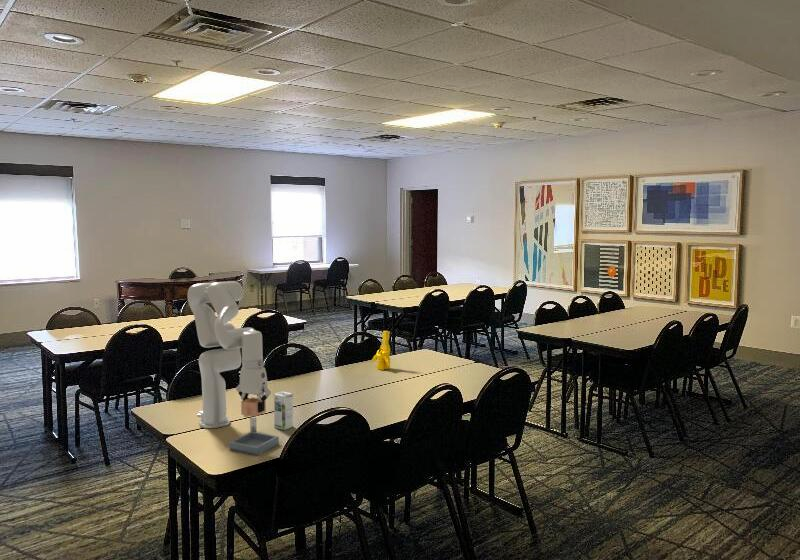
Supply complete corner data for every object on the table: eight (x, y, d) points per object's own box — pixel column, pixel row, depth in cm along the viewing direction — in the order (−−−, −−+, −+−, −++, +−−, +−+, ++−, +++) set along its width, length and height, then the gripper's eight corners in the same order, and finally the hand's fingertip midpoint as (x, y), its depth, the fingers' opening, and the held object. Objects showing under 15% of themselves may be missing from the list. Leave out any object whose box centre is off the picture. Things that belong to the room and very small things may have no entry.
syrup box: (273, 427, 253) (273, 393, 252) (284, 423, 258) (283, 390, 257) (283, 430, 250) (283, 396, 249) (293, 426, 255) (293, 392, 254)
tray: (229, 450, 229) (229, 442, 229) (251, 438, 241) (251, 431, 241) (257, 455, 224) (257, 447, 223) (278, 444, 235) (278, 436, 235)
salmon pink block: (252, 409, 235) (252, 397, 235) (265, 411, 232) (265, 399, 232) (238, 415, 228) (238, 402, 227) (252, 418, 225) (251, 404, 224)
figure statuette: (368, 367, 357) (368, 330, 355) (379, 365, 362) (379, 328, 360) (387, 373, 343) (387, 334, 341) (397, 370, 348) (398, 332, 346)
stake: (249, 433, 247) (248, 419, 246) (253, 431, 249) (252, 417, 248) (254, 434, 246) (253, 420, 245) (257, 432, 248) (257, 418, 247)
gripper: (277, 364, 229) (278, 410, 230) (240, 359, 236) (242, 404, 238) (264, 368, 222) (266, 416, 224) (227, 363, 229) (229, 410, 231)
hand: (253, 409), depth 231 cm, fingers closed on salmon pink block, 6 cm apart
